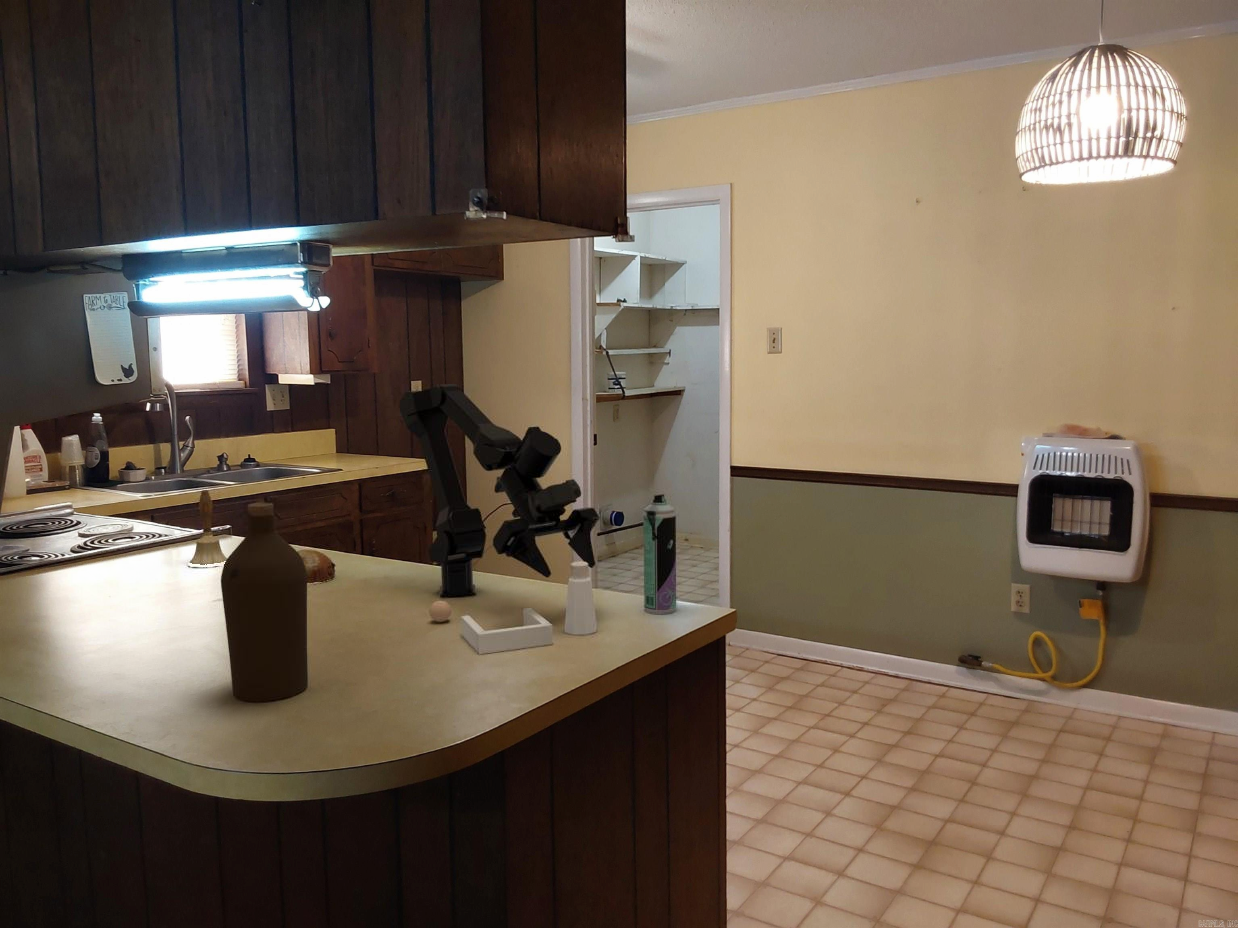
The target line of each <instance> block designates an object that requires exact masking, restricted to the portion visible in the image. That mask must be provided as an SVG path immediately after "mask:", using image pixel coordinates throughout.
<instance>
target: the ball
mask: <svg viewBox="0 0 1238 928" xmlns="http://www.w3.org/2000/svg"><path fill="white" fill-rule="evenodd" d="M451 614H452V608H451V605H449V603H448V602H446V601H444V600H437V601H435V602H433V603H432V604H431V606H430V608H429V615H430V617H431V619H432V620H433V621H435V622H436V623H444V622H446V621H447V620H448V619H449V618H450V616H451Z"/></svg>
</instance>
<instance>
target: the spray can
mask: <svg viewBox="0 0 1238 928" xmlns="http://www.w3.org/2000/svg"><path fill="white" fill-rule="evenodd" d="M643 511H644V512H643V514H642V515H643V591H644V592H643V593H644V594H643V600H644V601H643V602H644V603H643V608H644V612H646V613H647V614H652V615H668V614H672V613H675V612H676V611H677V513H676V508H675V507H673V506H671V505H670V504H669V502H668V501H667V500H666V499H665V494H664V493H660V494H655V495H654V496H653V499H652V501H651V502H650V504H649V505H648V506H646V507H644V508H643Z"/></svg>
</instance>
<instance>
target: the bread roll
mask: <svg viewBox="0 0 1238 928" xmlns="http://www.w3.org/2000/svg"><path fill="white" fill-rule="evenodd" d="M296 551H297V550H296ZM297 552H298V553H299V554H300V556H301V557H302V559H303V562H304V564H305V567H306V571H307V583H314V582H324V581H327V580H330V579H332V578H333V579H334V576H335V575H336V569H335V567H336V564H335V563H334V562H333V560H332V559H331V558H329V557H328V556H327V554H325V553H322V552H320V551H318V550H313V549H300V550H298V551H297ZM333 579H332V580H333ZM330 581H331V580H330Z"/></svg>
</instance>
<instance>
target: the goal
mask: <svg viewBox="0 0 1238 928" xmlns="http://www.w3.org/2000/svg"><path fill="white" fill-rule="evenodd" d="M522 609H523V610H522V611H523V613H522V614H523V626H517V627H516V626H515V627H510V628H509V627H508V628H501V629H491V630H484V629H483V628H482V627H481V626H480V625H479V624H478V623H477V622H476V621H475V620H474V619H473V618H472V617H471V616H470V615H461V616H460V619H461V621H460V622H461V636H462V637H463V638H464V639H465V640H466V641H467V642H468V643H469V645H470V646H471V647H472V648H473V649H474V650H475V651H476V652H477V653H478V654H479V655H484V654H490V653H491V654H492V653H497V652H498V653H499V652H506V651H515V650H521V649H527V648H528V649H529V648H534V647H535V648H536V647H542V646H549V645H553V644H554V640H553V639H554V638H553V637H554V636H553V635H554V634H553V633H554V632H553V624H552V623H551V622H549V621H548V620H547V619H545V618H544V617H542V616H541V615H540V614H539V613H538V612H537V611H535V610H534V609H532V608H531V607H529V608H528V607H527V608H525V607H524V608H522Z"/></svg>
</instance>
